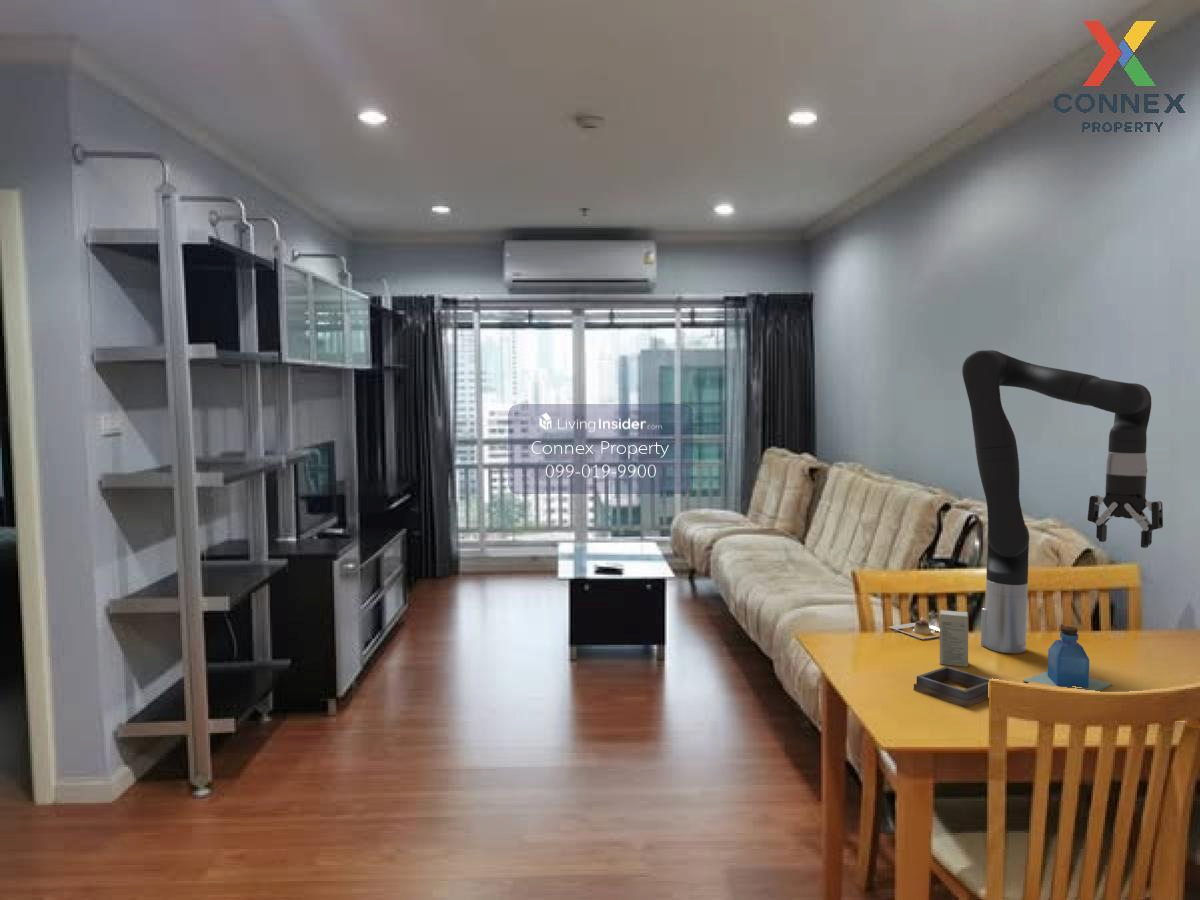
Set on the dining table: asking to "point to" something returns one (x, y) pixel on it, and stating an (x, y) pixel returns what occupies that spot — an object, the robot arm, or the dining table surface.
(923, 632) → the dessert
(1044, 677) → the mat
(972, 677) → the shallow navy tray
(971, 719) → the dining table surface
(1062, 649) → the perfume bottle
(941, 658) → the skincare box
